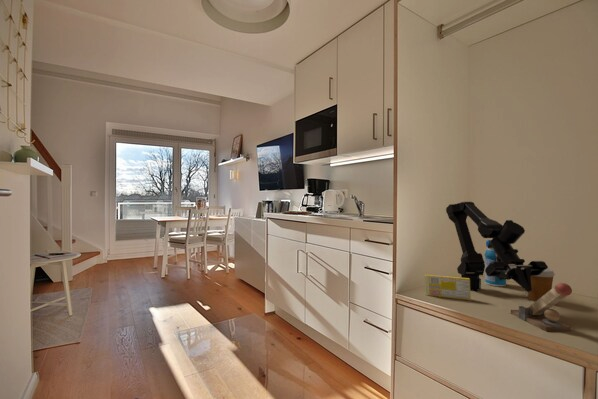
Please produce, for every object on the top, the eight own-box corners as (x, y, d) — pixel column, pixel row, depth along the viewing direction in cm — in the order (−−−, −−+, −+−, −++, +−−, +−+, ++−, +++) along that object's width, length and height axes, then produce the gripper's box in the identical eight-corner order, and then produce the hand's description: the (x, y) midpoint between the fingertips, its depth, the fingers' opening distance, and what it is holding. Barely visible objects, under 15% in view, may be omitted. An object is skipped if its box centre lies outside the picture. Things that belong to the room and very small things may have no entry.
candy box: (470, 299, 113) (469, 278, 113) (470, 300, 111) (470, 279, 111) (425, 293, 120) (424, 273, 120) (425, 295, 118) (424, 275, 118)
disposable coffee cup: (561, 305, 105) (561, 272, 105) (532, 303, 107) (531, 271, 107) (545, 296, 114) (544, 266, 114) (518, 295, 116) (517, 265, 116)
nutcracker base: (510, 313, 98) (509, 296, 98) (533, 313, 98) (532, 296, 98) (545, 331, 84) (545, 312, 84) (572, 330, 84) (572, 311, 84)
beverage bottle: (482, 284, 132) (481, 240, 132) (487, 280, 138) (486, 239, 138) (504, 288, 126) (503, 242, 126) (508, 284, 132) (508, 240, 132)
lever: (522, 307, 95) (555, 280, 83) (535, 307, 95) (570, 280, 83) (528, 318, 92) (564, 292, 80) (542, 318, 92) (579, 292, 80)
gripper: (517, 263, 111) (542, 301, 100) (470, 263, 111) (489, 302, 100) (534, 246, 103) (563, 286, 92) (483, 246, 103) (506, 287, 92)
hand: (529, 291), depth 94 cm, fingers closed
